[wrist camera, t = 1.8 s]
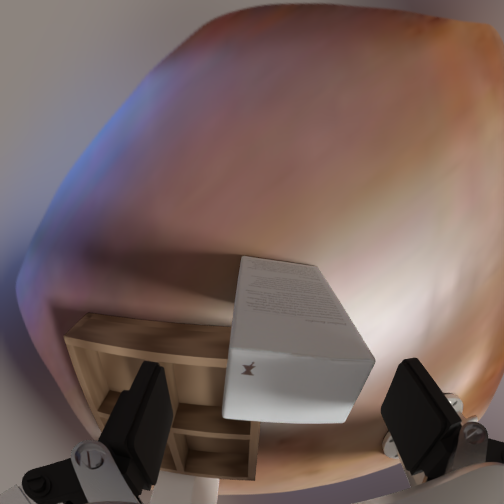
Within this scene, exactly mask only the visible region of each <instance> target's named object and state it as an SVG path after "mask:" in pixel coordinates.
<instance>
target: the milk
mask: <svg viewBox="0 0 504 504" xmlns="http://www.w3.org/2000/svg"><path fill="white" fill-rule="evenodd" d="M218 487H219V479H217V478H207V477H198V476H190V475H184V474H177V473H171V472H166V471H161V470H160V471H159V476H158V480H157V483H156V485H154V489H153V493H152V496H151V500H150V503H149V504H217V496H218Z"/></svg>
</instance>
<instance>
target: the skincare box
mask: <svg viewBox="0 0 504 504" xmlns="http://www.w3.org/2000/svg"><path fill="white" fill-rule="evenodd" d="M374 364H375V358H374V356H373V355H372V353H371V352H370V350H369V348H368V347H367V345H366V343H365V342H364V340H363V338H362V337H361V335H360V334H359V332H358V330H357V329H356V327H355V325H354V324H353V322H352V321H351V319H350V317H349V316H348V314H347V313H346V311H345V309H344V307H343V306H342V304H341V303H340V301H339V300H338V298H337V296H336V295H335V293H334V292H333V290H332V288H331V287H330V285H329V284H328V282H327V280H326V279H325V277H324V276H323V274H322V273H321V271H320V270H319V268H318V267H317V266H309V265H303V264H296V263H289V262H283V261H275V260H269V259H261V258H255V257H248V256H242V258H241V263H240V269H239V275H238V282H237V289H236V296H235V304H234V312H233V320H232V328H231V336H230V345H229V352H228V361H227V369H226V377H225V386H224V395H223V405H222V417H223V418H226V419H235V420H247V421H260V422H275V423H298V424H325V423H344V422H345V420H346V418H347V417H348V415H349V413H350V411H351V409H352V407H353V405H354V403H355V401H356V400H357V398H358V396H359V394H360V392H361V390H362V388H363V386H364V384H365V382H366V380H367V378H368V376H369V374H370V372H371V370H372V368H373V366H374Z"/></svg>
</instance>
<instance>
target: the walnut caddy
mask: <svg viewBox="0 0 504 504" xmlns="http://www.w3.org/2000/svg"><path fill="white" fill-rule="evenodd" d="M231 328H232V327H223V326H206V325H192V324H180V323H169V322H158V321H149V320H140V319H131V318H123V317H116V316H108V315H101V314H94V313H87V314H86V315H85V316H84V317H83V318H82V319H81V320H79V321H78V322H77V323H76V324H75V325H74V326H73V327H72V328H71V329H70V330H69V331H68V332H67V333H66V334H65V335H64V339H65V343H66V346H67V349H68V352H69V355H70V358H71V361H72V364H73V367H74V370H75V372H76V375H77V378H78V380H79V383H80V386H81V388H82V391H83V393H84V395H85V398H86V400H87V403H88V405H89V407H90V409H91V412H92V414H93V416H94V418H95V420H96V422H97V424H98V426H99V428H100V430H101V432H102V431H103V429H104V427H105V425H106V423H107V420H108V418H109V416H110V414H111V412H112V410H113V408H114V406H115V404H116V402H117V400H118V398H119V396H120V394H121V392H122V391H123V390H129V389H130V387H131V385H132V383H133V381H134V379H135V377H136V375H137V373H138V371H139V369H140V367H141V365H142V363H143V361H151V362H158V363H159V364H160V366H162V367H164V370H165V375H166V380H167V385H168V390H169V395H170V400H171V404H172V409H173V421H172V424H171V428H170V432H169V436H168V440H167V444H166V448H165V451H164V455H163V459H162V463H161V467H160V470H161V471H166V472H171V473H177V474H184V475H190V476H198V477H207V478H217V479H230V480H253V481H255V475H256V465H257V455H258V444H259V434H260V423H261V422H260V421H247V420H235V419H226V418H223V417H222V405H223V395H224V386H225V377H226V369H227V361H228V352H229V345H230V336H231Z"/></svg>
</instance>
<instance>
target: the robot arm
mask: <svg viewBox="0 0 504 504" xmlns="http://www.w3.org/2000/svg"><path fill="white" fill-rule="evenodd" d="M462 411H463V403H462V401H461V399H460V398H459V397H458V396H457V395H454V394H445V395H444V394H443V392H442V391H441V389H440V388H439V387H438V385H437V384H436V383H435V381H434V380H433V378H432V377H431V376H430V374H429V373H428V372H427V370H426V369H425V368H424V366H423V365H422V364H421V362H420V361H419V360H418V359H417V358H410V359H404V360H403V361H402V363H400V364H399V366H398V368H397V371H396V373H395V376H394V378H393V381H392V383H391V386H390V388H389V390H388V393H387V395H386V397H385V400H384V402H383V404H382V406H381V414H382V417H383V419H384V421H385V423H386V425H387V428H388V430H389V432H388V433H387V435H386V436H385V438H384V440H383V443H382V448H383V451H384V453H385V455H386V456H388V457H389V458H394V459H397V458H399V459H400V461H401V464H402V466H403V469H404V471H405V474H406V476H407V478H408V481H409V484H410V486H411V488H408V489H405V490H402V491H399V492H396V493H393V494H389V495H386V496H382V497H379V498H375V499H371V500H367V501H362V502H358V503H353V504H504V442H499V441H496V440H492V439H489V438H488V432H487V430H486V428H485V427H484V426H483V425H482V424H480V423H478V422H477V416H476V415H473V416H471V417H469V418H467V419H466V418H465V417H464V416H463V414H462ZM172 421H173V409H172V404H171V400H170V395H169V390H168V385H167V380H166V375H165V370H164V367H162V366H160V364H159V363H158V362H151V361H143V363H142V365H141V367H140V369H139V371H138V373H137V375H136V377H135V379H134V381H133V383H132V385H131V387H130V389H129V390H123V391H122V392H121V394H120V396H119V398H118V400H117V402H116V404H115V406H114V408H113V410H112V412H111V414H110V416H109V418H108V420H107V423H106V425H105V427H104V429H103V431H102V433H101V435H100V438H99V440H98V441H95V440H86V441H82V442H80V443H78V444H77V445H76V446H75V447H74V448H73V450H72V452H71V458H69V459H66V460H63V461H60V462H56V463H54V464H50V465H47V466H43V467H39V468H35V469H32V470H30V471H28V472H27V473H26V474H25V475H24V477H23V479H22V485H21V486H19V487H18V486H17V485H15V486H13V487H11V488H10V489H8V490H6V491H5V492H3V493H2V494H0V504H143V502H142V501H141V499H140V498H139V495H141V493H142V489H144V490H149V491H150V489H151V485H156V483H157V480H158V476H159V471H160V467H161V463H162V459H163V455H164V451H165V448H166V444H167V440H168V436H169V432H170V428H171V424H172Z"/></svg>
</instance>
